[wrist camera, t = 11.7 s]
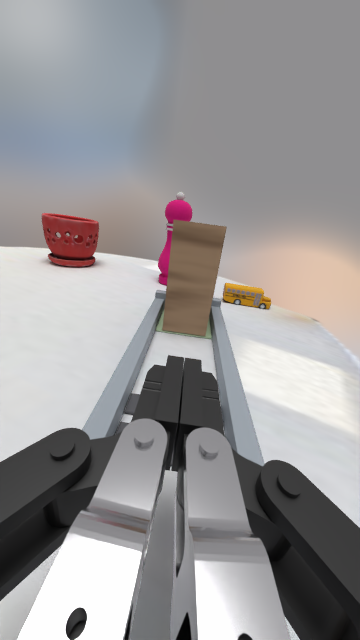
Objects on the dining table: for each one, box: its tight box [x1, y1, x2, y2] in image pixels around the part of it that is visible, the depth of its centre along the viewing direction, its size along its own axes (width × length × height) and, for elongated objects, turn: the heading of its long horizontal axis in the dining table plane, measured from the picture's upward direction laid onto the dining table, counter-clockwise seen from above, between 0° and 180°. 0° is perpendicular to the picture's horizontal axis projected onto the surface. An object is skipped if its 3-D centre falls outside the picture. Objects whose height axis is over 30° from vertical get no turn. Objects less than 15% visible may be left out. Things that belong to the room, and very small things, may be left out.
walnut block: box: [162, 220, 226, 336], centre depth 31 cm, size 8×6×14 cm
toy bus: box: [223, 283, 271, 309], centre depth 46 cm, size 3×10×4 cm, turn 82°
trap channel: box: [82, 290, 265, 466], centre depth 25 cm, size 29×11×3 cm, turn 176°
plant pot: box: [42, 213, 99, 267], centre depth 59 cm, size 13×13×12 cm
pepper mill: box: [158, 192, 192, 285], centre depth 51 cm, size 7×7×20 cm
